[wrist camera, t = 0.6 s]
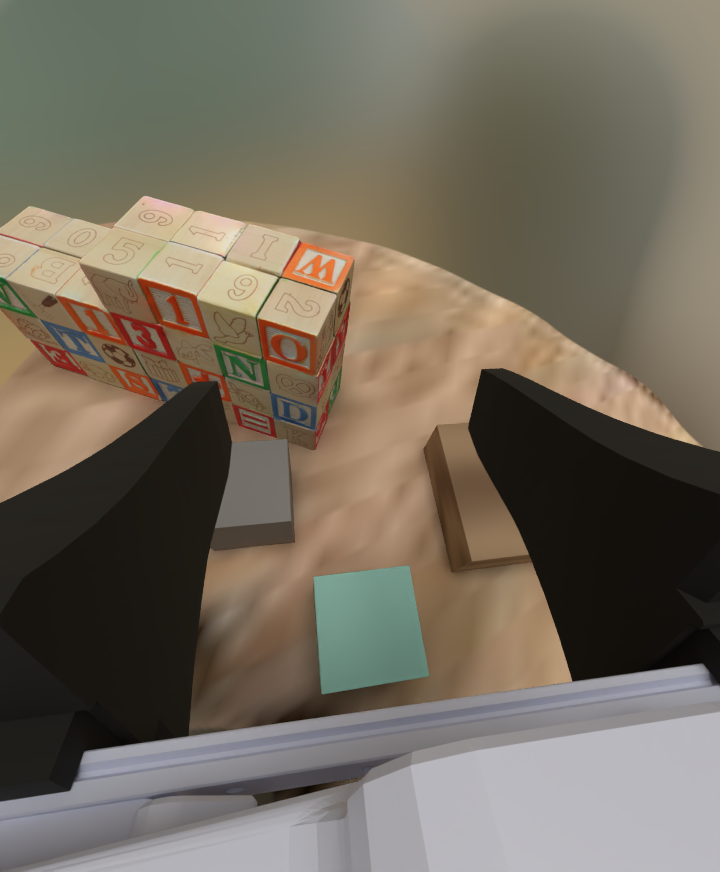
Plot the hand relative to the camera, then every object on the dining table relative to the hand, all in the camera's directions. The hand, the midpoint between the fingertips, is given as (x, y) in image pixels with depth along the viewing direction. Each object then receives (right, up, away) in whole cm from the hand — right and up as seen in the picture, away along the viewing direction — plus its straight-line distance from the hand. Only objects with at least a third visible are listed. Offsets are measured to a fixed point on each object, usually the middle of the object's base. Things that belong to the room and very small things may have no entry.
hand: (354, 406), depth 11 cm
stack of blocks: (-12, +4, +20) cm, 24 cm away
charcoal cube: (-7, -6, +15) cm, 17 cm away
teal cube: (0, -12, +12) cm, 17 cm away
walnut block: (+10, -6, +17) cm, 21 cm away
